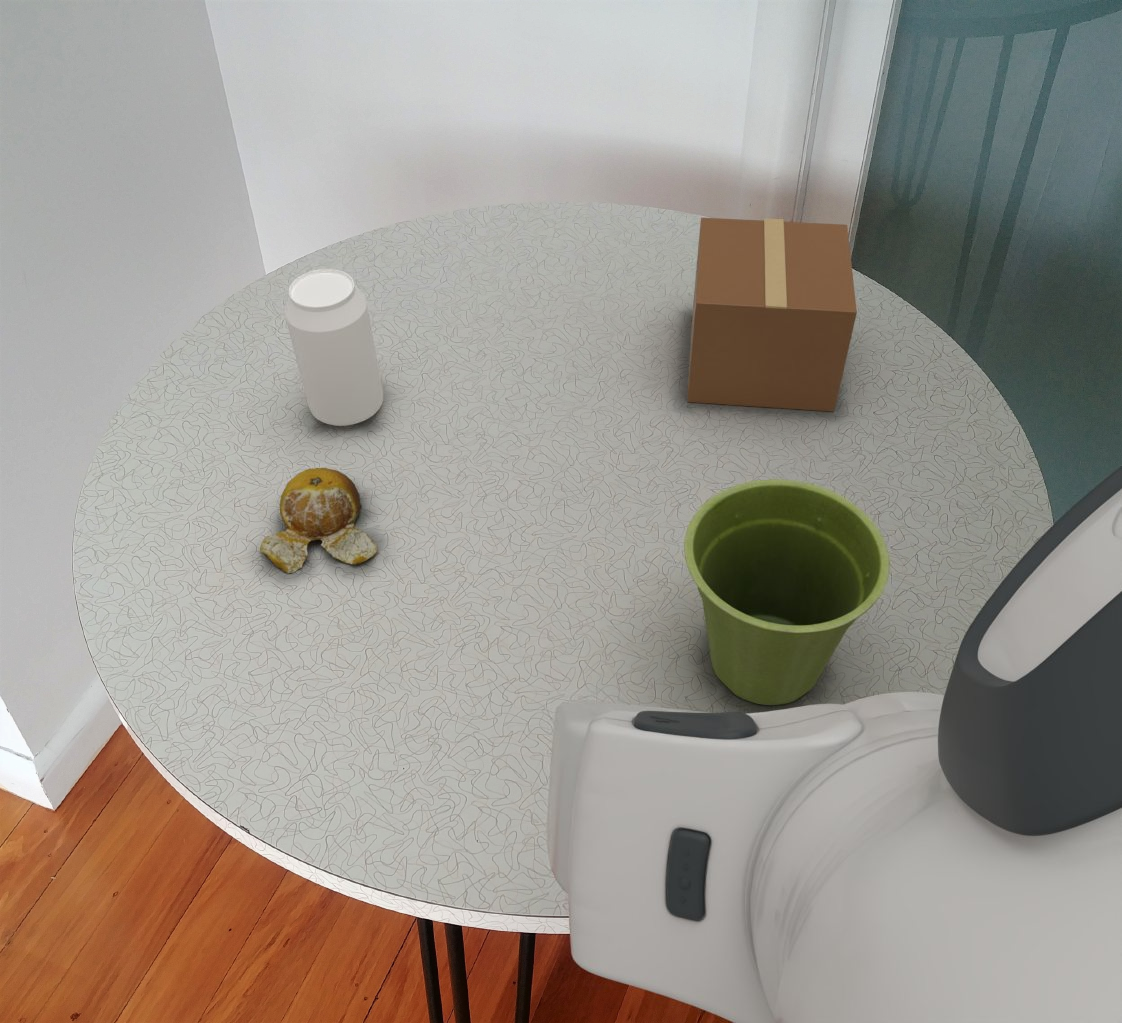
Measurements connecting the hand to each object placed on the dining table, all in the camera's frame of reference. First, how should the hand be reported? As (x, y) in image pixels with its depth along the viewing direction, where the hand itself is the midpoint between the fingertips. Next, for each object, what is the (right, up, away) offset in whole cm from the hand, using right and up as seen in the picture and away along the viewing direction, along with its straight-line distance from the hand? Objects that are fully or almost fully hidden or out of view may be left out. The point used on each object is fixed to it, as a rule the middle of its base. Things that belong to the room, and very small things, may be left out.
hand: (835, 741), depth 40 cm
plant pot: (+3, -1, +31) cm, 31 cm away
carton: (+7, +22, +52) cm, 56 cm away
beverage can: (-28, +17, +49) cm, 59 cm away
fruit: (-28, +7, +39) cm, 49 cm away
